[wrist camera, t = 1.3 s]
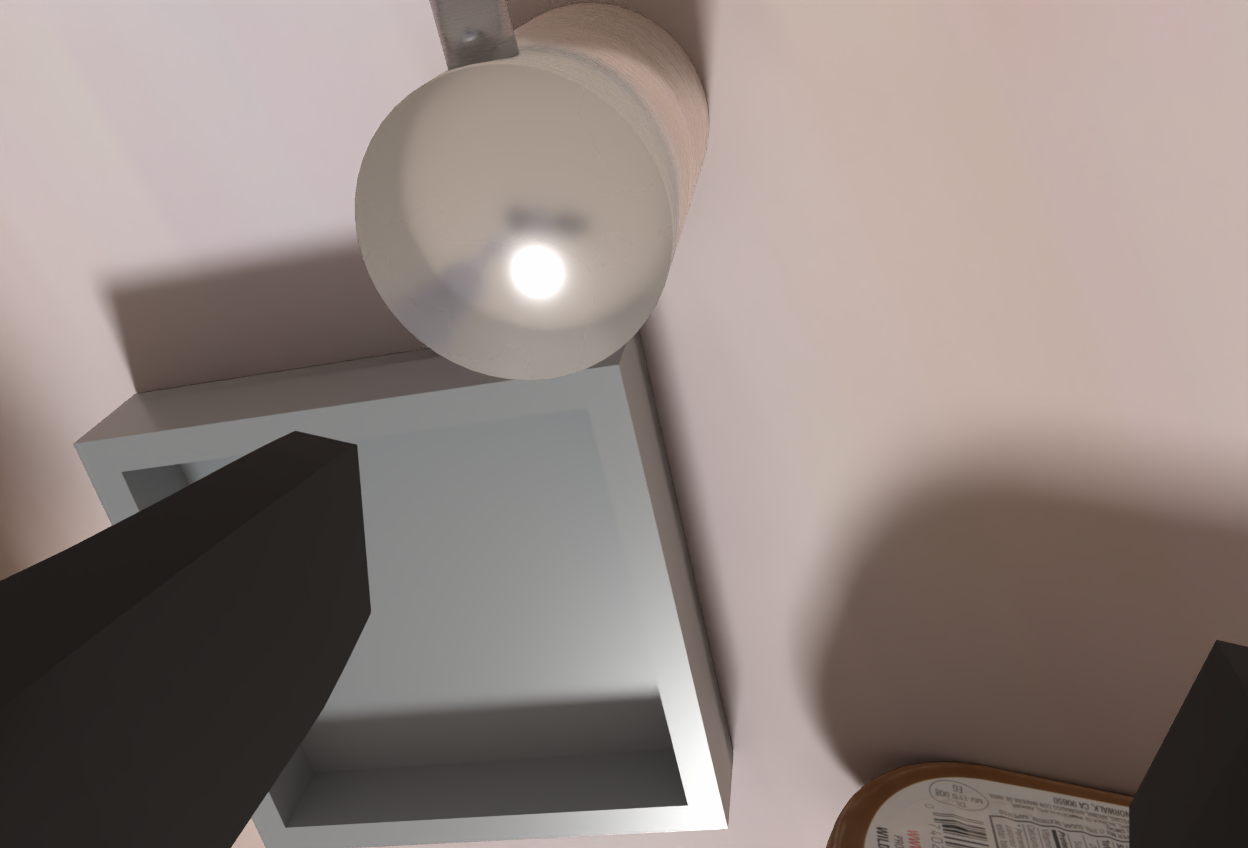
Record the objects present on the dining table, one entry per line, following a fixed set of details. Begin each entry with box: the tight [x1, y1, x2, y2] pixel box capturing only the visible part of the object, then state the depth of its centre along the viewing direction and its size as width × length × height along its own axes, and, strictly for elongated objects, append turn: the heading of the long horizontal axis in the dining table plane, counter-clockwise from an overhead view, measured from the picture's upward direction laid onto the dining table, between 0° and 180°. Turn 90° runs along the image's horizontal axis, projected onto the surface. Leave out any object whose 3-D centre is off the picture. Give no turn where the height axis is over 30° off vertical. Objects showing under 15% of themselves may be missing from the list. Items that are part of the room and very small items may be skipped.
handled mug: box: [355, 0, 709, 380], centre depth 18 cm, size 4×6×7 cm
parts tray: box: [74, 330, 733, 848], centre depth 26 cm, size 12×12×2 cm
